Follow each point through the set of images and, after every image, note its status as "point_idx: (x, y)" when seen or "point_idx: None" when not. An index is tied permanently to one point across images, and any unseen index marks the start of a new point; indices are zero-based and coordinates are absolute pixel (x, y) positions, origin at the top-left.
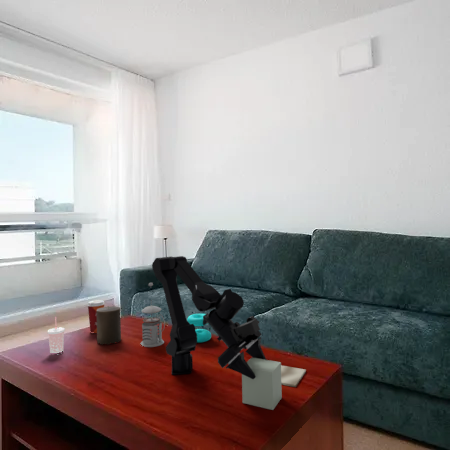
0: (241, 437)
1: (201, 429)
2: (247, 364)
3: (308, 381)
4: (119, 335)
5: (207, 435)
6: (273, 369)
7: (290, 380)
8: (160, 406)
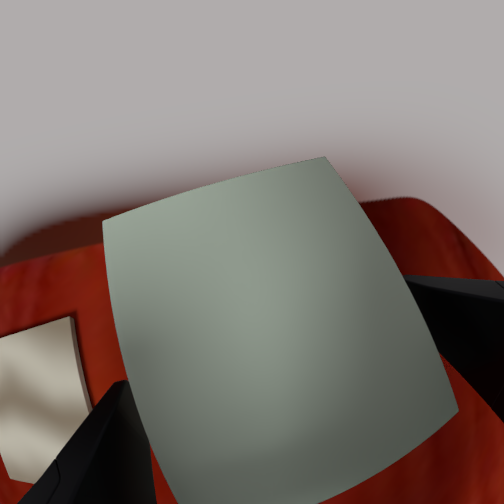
0: (446, 244)
1: None
2: (497, 295)
3: (24, 304)
4: None
5: None
6: (278, 173)
7: (49, 354)
8: (499, 491)
